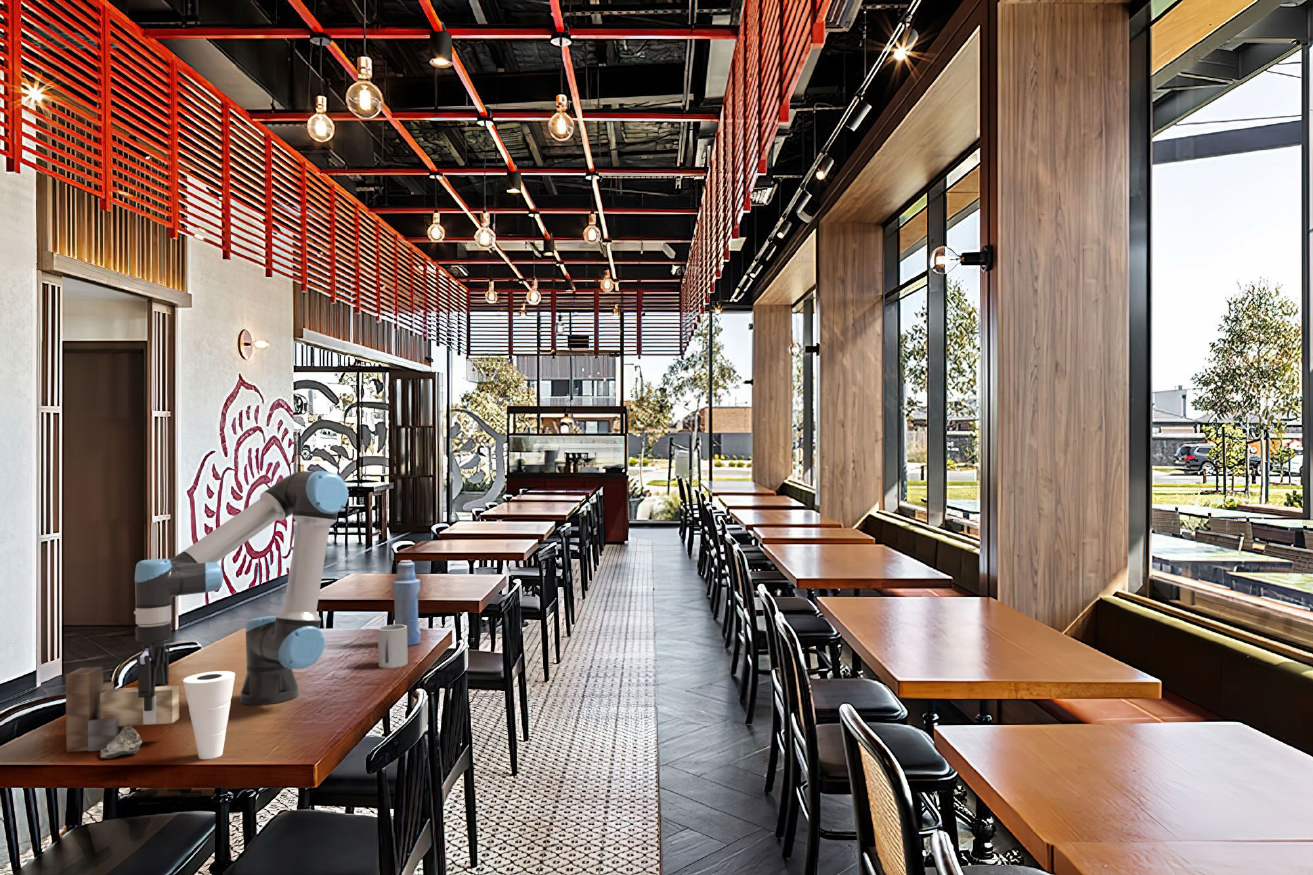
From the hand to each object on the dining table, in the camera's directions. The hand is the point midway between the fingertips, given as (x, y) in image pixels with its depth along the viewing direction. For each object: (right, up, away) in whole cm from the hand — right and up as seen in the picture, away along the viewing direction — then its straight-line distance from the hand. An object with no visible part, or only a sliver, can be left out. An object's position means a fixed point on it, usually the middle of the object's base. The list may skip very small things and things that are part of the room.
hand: (154, 720), depth 211 cm
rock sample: (-2, -5, -8) cm, 10 cm away
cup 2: (+19, -5, -11) cm, 23 cm away
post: (-13, -5, +2) cm, 14 cm away
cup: (+36, -6, +73) cm, 81 cm away
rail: (-3, 0, 0) cm, 3 cm away
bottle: (+32, -6, +103) cm, 108 cm away
